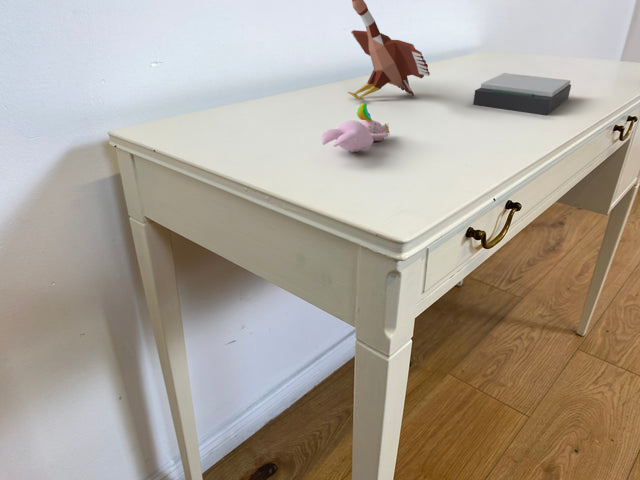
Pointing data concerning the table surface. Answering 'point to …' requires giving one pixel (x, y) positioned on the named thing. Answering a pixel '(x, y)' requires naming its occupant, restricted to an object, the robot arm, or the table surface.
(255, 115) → the table surface
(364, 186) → the table surface
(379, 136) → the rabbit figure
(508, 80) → the scale
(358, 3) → the decorative bird
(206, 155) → the table surface
